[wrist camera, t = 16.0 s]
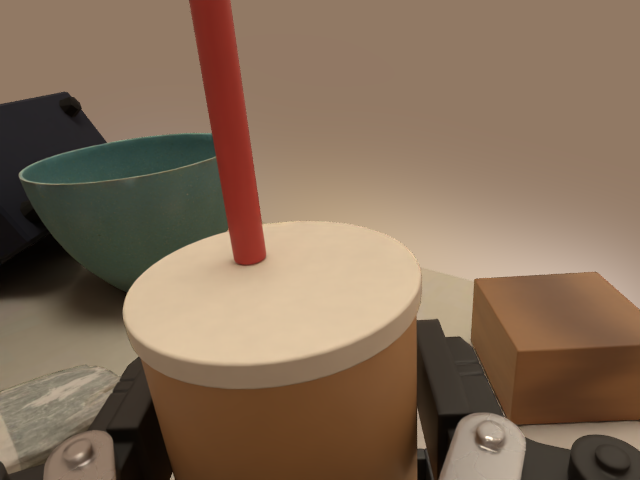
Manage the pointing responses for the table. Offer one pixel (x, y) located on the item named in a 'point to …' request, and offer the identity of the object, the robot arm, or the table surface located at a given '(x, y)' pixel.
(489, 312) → the stand
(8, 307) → the table surface
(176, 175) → the teal round bowl
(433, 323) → the robot arm
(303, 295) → the paper cup
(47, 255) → the table surface
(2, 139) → the speaker
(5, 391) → the decorative stone
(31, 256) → the table surface
